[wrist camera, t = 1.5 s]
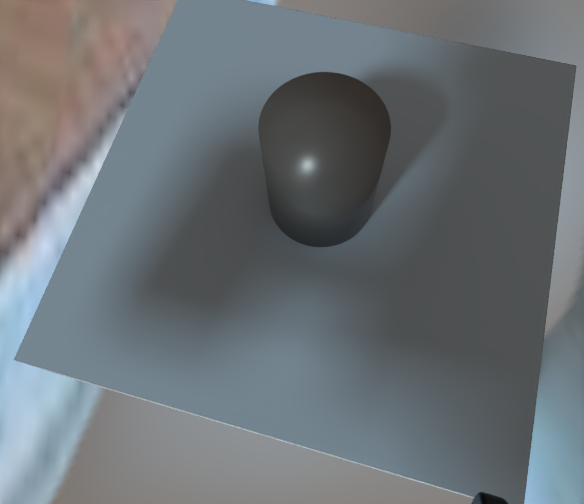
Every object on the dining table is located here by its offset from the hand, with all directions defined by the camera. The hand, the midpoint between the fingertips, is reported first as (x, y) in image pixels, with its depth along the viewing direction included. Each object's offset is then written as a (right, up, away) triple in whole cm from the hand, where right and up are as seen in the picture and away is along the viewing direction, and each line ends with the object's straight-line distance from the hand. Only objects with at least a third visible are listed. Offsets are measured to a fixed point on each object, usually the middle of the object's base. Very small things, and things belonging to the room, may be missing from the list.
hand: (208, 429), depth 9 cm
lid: (+2, +4, +11) cm, 12 cm away
